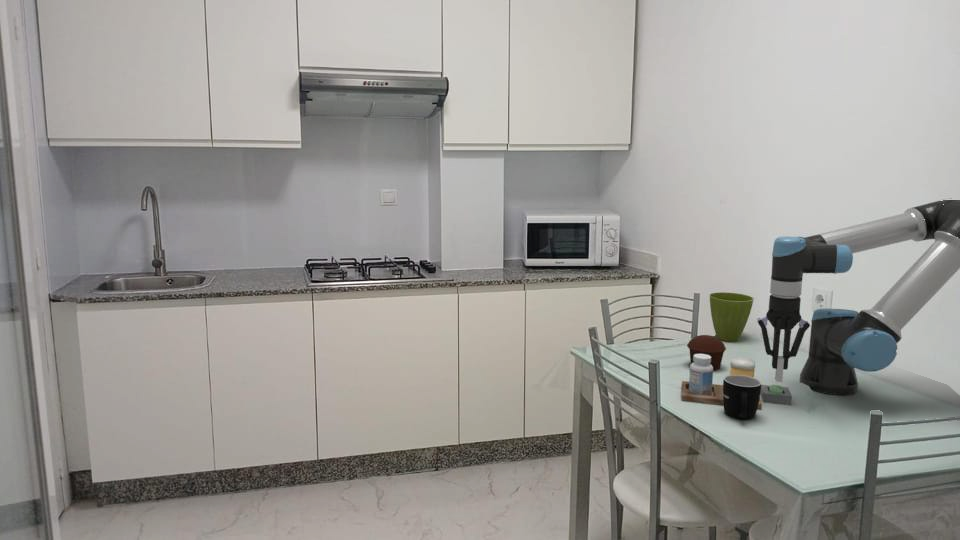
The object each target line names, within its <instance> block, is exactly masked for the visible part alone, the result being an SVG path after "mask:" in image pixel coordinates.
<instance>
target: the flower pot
mask: <svg viewBox="0 0 960 540" xmlns="http://www.w3.org/2000/svg"><path fill="white" fill-rule="evenodd" d="M753 303H754V298H753V297H752V296H751V295H747V294H744V293H743V294H742V293H737V292H726V291H725V292H721V291H720V292H713V293H712V292H711V293H710V294H709V305H710V306H709V307H710V315H711V319H712V325H713V329H714V333H715V337H716V338H718V339H719V340H720V341H722V342H726V343H727V342H728V343H733V342H734V343H736V342H738V341H739V340H740V338H741V336H742V334H743V332H744V331H745V328H746V325H747V323H748V320H749V317H750V314H751V311H752V307H753Z"/></svg>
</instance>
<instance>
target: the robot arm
mask: <svg viewBox="0 0 960 540" xmlns="http://www.w3.org/2000/svg"><path fill="white" fill-rule="evenodd" d="M942 200H943V201H940V200H937V201H933V202H928V203H924V204H920V205H918V206H914V207H913V206H912V207H910V208H907V209H905V210H904V212H903V213H899V214H896V215H893V216H888V217H884V218H880V219H875V220H871V221H868V222H864V223H860V224H855V225H852V226H847V227H843V228H839V229H835V230H831V231H827V232H822V233H819V234H814V235H810V236H805V237H803V236H778V237H776V238H775V239H774V242H773V249H772V252H771V255H772V258H771V259H772V260H771V264H772V265H771V275H770V276H771V277H770V288H769V293H770V295H769V297H768V298H769V300H768V301H769V302H768V311H767V312H766V314H765V316H763V317H761V318H760V317H759V318H757V319H756V320H757V321H756V322H757V323H758V325H759V326H760V329H761V335H762V339H763V344H764V350H765V353H766V355H767V356H771V358H772V359H771V367H772V369H774V370H775V373H774V374H775V375H774V379H775V381H776V382H778V383H783V380H784V379H783V377H784V370H788V368H789V359H791V358H796V357H797V354H798V352H799V349H800V347H801V344H802V341H803V339H804V335H805V333H806V331H807V330H809V328H810V334H809V335H810V337H809V347H808V356H807V357H808V358H807V360H806V362H805V363H804V365H803V366H802V369H801V372H800V374H799V383H800V384H804V385H806V386H808V387H809V388H810V390H811V391H815V392H819V393H823V394H829V395H839V396H841V395H842V396H845V395H846V396H847V395H853V394H855V393H857V392H858V386H859V382H858V378H857V374H856V370H857V369H858V370H860V371H862V372H867V373H868V372H869V373H871V372H872V373H873V372H878V371H882V370H884V369H886V368H887V367H888V366H890V365H891V364H892V363H894V360H895V359H896V357H897V354H898V352H897V350H898V343H899V342H900V341H901V340H902V332H901V331H902V330H903V328H904V327H906V325H907V324H908V323H910V321H911V320H912V319H913V318H914V317H915V316H916V315H917V314H918V313H919V312H920V311H921V310H922V308H924V306H925V305H926V304H927V303H928V302H929V301H930V300H931V299H932V298H933V297H934V296H935V295H936V294H937V293H938V292H939V291H940V290H941V289H942V288H943V287H944V285H946V284H947V283H948V282H949V280H950V279H952V277H953V276H954V275H955V274H956V273H957V272H958V271H959V270H960V200H945V199H942ZM943 204H944V205H943ZM924 219H925V220H924ZM957 237H958V238H957ZM910 240H912V241H914V242H917V243H918V242H922V241H928V240H934V242H933V243H932V244H931V245H930V246H929V248H927V249H926V251H925V252H924V253H922V255H921V256H920V257H919V258H918V259H917V260H916V261H915V262H914V263H913V264H912V265H911V266H910V267H909V268H908V269H907V271H906V272H905V273H903V274H902V276H901V277H899V279H898V280H897V281H896V282H895V283H894V284H893V285H892V286H891V288H889V290H888V291H887V292H885V294H884V295H883V296H882V297H881V298H880V299H879V300H878V301H877V302H876V303H875V304H874V306H872V307H871V308H870V309H861V310H860V311H857V310H854V309H853V310H852V309H845V308H844V309H843V308H817V309H815V310H814V311H813V313H812V318H811V321H810V322H811V325H810V323H809V322H808V321H807V320H804V319H803V318H802V315H801V313H800V311H801V299H802V298H801V297H800V296H801V295H802V290H803V289H802V287H803V285H802V284H803V277H804V274H834V275H836V274H845V273H847V272H848V271H850V270H851V268H852V266H853V260H854V256H853V255H854V254H856V253H861V252H864V251H868V250H874V249H877V248H878V249H879V248H881V247H886V246H890V245H894V244H898V243H902V242H907V241H910ZM768 322H769V323H770V324H771V327H772V328H773V341H772V349H771V344H770V339H769V333H768V329H767V326H768ZM797 325H798V329H797V332H796V333H795V338H794V340H793V343H792V346H791V334H792V330H793V329H794V328H795V327H796V326H797ZM782 330H784V331H783V332H784V334H783V344H782V345H783V346H782V355H779V353H780V352H779V351H780V343H781V341H780V338H781V333H782V332H781V331H782ZM790 346H791V347H790ZM790 348H791V349H790Z"/></svg>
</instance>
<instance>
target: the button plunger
mask: <svg viewBox="0 0 960 540" xmlns="http://www.w3.org/2000/svg"><path fill="white" fill-rule="evenodd" d="M783 387H784V386H782V385H779V384H770V387H769V392H774V393H783Z"/></svg>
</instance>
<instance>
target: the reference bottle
mask: <svg viewBox="0 0 960 540" xmlns="http://www.w3.org/2000/svg"><path fill="white" fill-rule="evenodd" d="M729 365H730V370H729V371H730V372H729V375H745V376H750V377H753V378H755V369H756V360H754V359H752V358H749V357H743V356H742V357H741V356H736V357H731V359H730V363H729Z"/></svg>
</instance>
